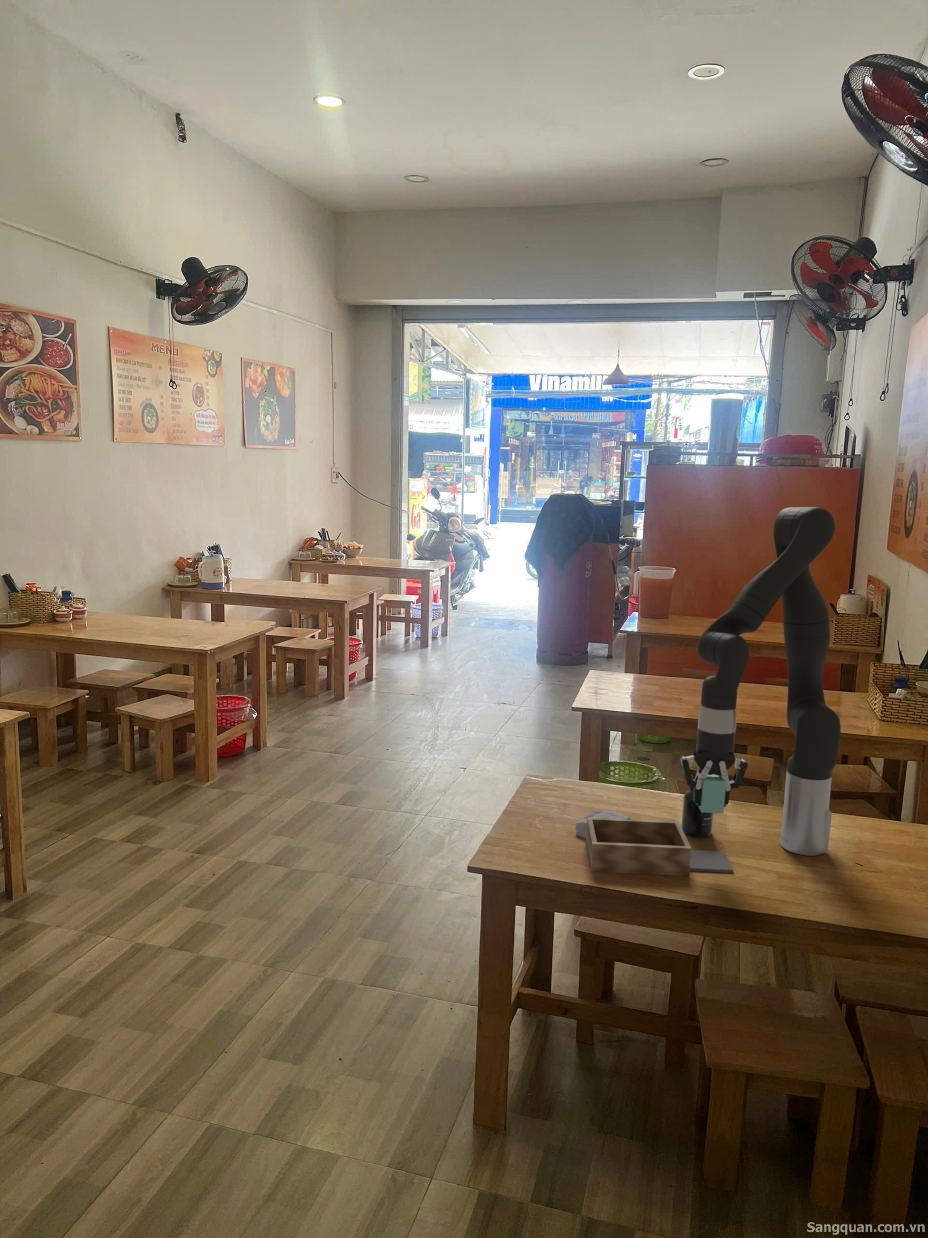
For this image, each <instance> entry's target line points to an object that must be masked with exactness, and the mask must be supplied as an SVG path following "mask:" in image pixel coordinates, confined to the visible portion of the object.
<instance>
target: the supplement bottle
mask: <svg viewBox="0 0 928 1238" xmlns="http://www.w3.org/2000/svg"><path fill="white" fill-rule="evenodd" d="M693 779H694V780H695V778H693ZM693 791H694V787H692V786H688V790H687V791H686V792H685V793H684V795H683V802H682V804H683V805H682V813H681V815H682V817H681V827H682V829H683V832H684V834H685V835H688V836H691V837H694V838H708V837H709V836H710V835H711V834H712V831H713V821H714V813H706V812H701V810H700V808H699V807H698V806H697V805H696V803H695V802H694V800H693Z"/></svg>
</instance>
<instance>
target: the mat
mask: <svg viewBox="0 0 928 1238" xmlns="http://www.w3.org/2000/svg"><path fill="white" fill-rule="evenodd" d="M690 872H706V873H708V872H709V873H710V872H711V873H731V874H734V872H735V871H734V868H733V866H732V864H731V863H730V861H729V859H728V857H727V855H726V853H725V851H720V850H696V849H691V859H690Z"/></svg>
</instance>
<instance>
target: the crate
mask: <svg viewBox="0 0 928 1238" xmlns="http://www.w3.org/2000/svg"><path fill="white" fill-rule="evenodd" d="M585 839H586V840H585V845H586V849H587V851H586V852H587V857H588V861H589V868H590V872H595V873H596V872H598V873H613V874H615V873H617V874H618V873H619V874H639V875H640V874H641V875H657V876H658V875H661V876H679V877H680V876H682V877H689V876H690V872H691V871H690V859H691V850H692V847H691V844H690V843H689V841H688V839H687V836H686V834H685V833H684V832H683V829H682V824H681V823H680V821H676V820H675V821H673V820H656V819H655V820H650V819H633V818H632V819H611V818H589V817H587V833H586V838H585Z"/></svg>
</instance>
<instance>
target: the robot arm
mask: <svg viewBox="0 0 928 1238" xmlns="http://www.w3.org/2000/svg"><path fill="white" fill-rule="evenodd" d="M835 529H836V523H835V519H834V517H833V515H832V513H831V512H830V511H829V510H827V509H826V508H823V507H819V506H794V507H792V506H791V507H785V508H783V509H782V510H780V511H779V512H778V514H777V515H776V517H775V520H774V523H773V541H774V548H775V554H776V559H775V560H773V562H772V563H771V564H769V565H768V566H767V567H765V568H764V569H763V570H761V571H760V572H759V573H757V574H756V575H755V576H754V577H753V578H752V579H750V581H749V582H747V583H746V584H745V586H744V587H743V588H742V590H741V591H740V593H739V594H738V595H737V597H736V598H735V599H734V601H733V603H732V605H730V607H729V609H727V611H725V612H724V613H723V614H721V615H720V616H719V617H718V618H717V619H716V620H715V621H713V623H711V624H710V625H709V626H708V627H707V628H705V630H704V631H703V632H702V634H701V635H700V637H699V640H698V643H697V654H698V656H699V658H700V659H701V660H702V661H704V662H706V663H708V664H711V665H714V666H718V670H717V673H716V674H715V675H710V676H707V677H705V678H704V679H703V681H702V686H701V694H700V695H701V697H700V707H699V712H698V717H697V718H698V720H697V732H696V733H697V734H696V744H695V751H694V753H693V755H688V756H685V755H681V756H680V759H679V760H680V765H681V769H682V772H683V776H684V781H685V783H686V785H687V786H688V787H689V786H692V787H694V791H693V800H694V802H695V803H696V805H697V806H701V796H702V789H701V787H702V784H703V779H706V777H707V775H713V774H715V775H718V776H721V778H722V779H723V780H726V789H725V801H724V808H726V807H727V806H728V805H729V803H730V791H731V790H732V789H739V788H740V786H741V784H742V782H743V780H744V777H745V774H746V771H747V769H748V766H749V764H748V762H747V760H745V758H737V757H736V756H735V753H734V750H735V741H736V740H735V739H736V729H737V700H738V690H739V685H740V683H741V681H742V679H743V676H744V672H745V670H746V667H747V665H748V661H749V657H750V650H749V649H750V648H749V645H748V642H747V641H746V639H744V637H743V636H740V635H742V634H746V633H747V634H749V633H750V634H751V633H755V632H756V631H757V630H758V629H759V628H760V627H761V626H762V624H763V623H764V621H765V620H766V618H767V616H769V614H770V613H771V611H772V609H773V608H774V607H775V605H776V604H777V602H778V600H780V598H781V602H782V623H783V624H782V625H783V636H784V637H783V638H784V647H785V649H784V650H785V659H786V668H787V669H786V670H787V678H788V679H787V681H788V682H787V699H786V700H787V703H786V723H787V726H788V728H789V731H790V732H791V733H793V734H794V736H795V742H794V750H793V755H792V756H790V757H788V759H787V763H786V773H785V774H786V775H785V787H784V798H783V808H782V809H783V810H782V822H781V831H780V843H779V844H780V846H781V847H782V848H783V849H785V850H786V851H788V852H790V853H793V854H798V855H801V856H812V857H813V856H819V855H822V854H829V848H830V847H829V846H830V836H831V835H830V834H831V824H832V816H833V814H832V811H831V810H830V801H831V800H830V798H831V787H832V786H831V785H832V776H833V770H834V768H835V766H836V764H837V762H838V755H839V750H840V749H839V748H840V740H841V729H842V728H841V727H842V726H841V720H840V717H839V715H838V714H837V713H836V712H835V710H833V709H832V708H830V707H829V706H828V705H827V704H826V699H825V693H824V685H823V683H824V682H823V672H824V666H825V665H826V660H827V657H828V652H829V649H830V643H831V632H830V631H831V628H830V627H831V626H830V613H829V609H828V606H827V604H826V602H825V599H824V597H823V596H822V594H821V592H820V590H819V588H818V586H817V585H816V583H815V580H814V578H813V576H812V574H811V571H810V570H811V569H810V566H809V565H810V564H812V562H813V561H815V559H817V557H818V556H819V555H820V554H821V553H822V552H823V551H824V550H825V549H826V548H827V547H828V545H829V544H830V542H831V541H832V540H833V536H834V534H835ZM693 762H695V763H696V765H697V767H698V769H697V770H696V775H695V778H693V777H692V772H691V768H692V766H693ZM733 765H734V768H735V770H734V772H733V776H732V778H731V780H730V778H729V774H728V770H729V769H730V768H731V767H732V766H733ZM694 779H695V780H694Z"/></svg>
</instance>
